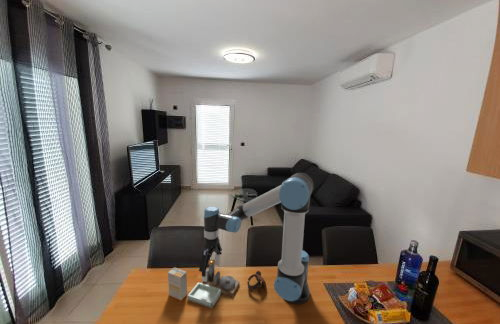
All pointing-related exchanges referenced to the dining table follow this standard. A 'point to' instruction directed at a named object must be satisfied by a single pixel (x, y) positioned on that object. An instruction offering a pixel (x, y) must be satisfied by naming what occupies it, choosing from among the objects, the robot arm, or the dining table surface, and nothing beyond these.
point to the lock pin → (211, 269)
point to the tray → (204, 295)
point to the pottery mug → (259, 278)
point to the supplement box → (177, 283)
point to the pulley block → (223, 283)
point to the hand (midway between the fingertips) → (211, 272)
